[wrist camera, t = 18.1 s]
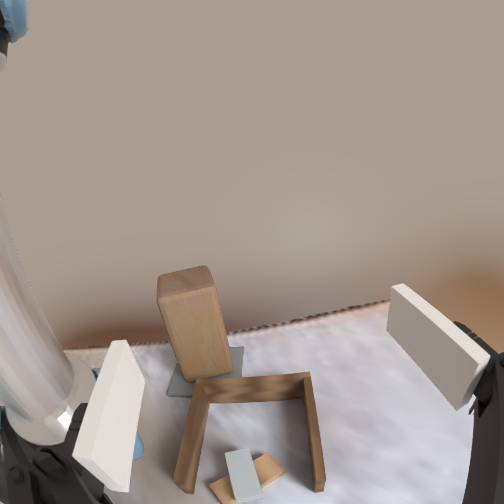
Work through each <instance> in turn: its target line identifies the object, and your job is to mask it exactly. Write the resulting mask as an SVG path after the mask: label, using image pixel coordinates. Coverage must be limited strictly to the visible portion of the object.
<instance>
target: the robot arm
mask: <svg viewBox="0 0 504 504" xmlns="http://www.w3.org/2000/svg"><path fill="white" fill-rule="evenodd" d="M27 24H28V0H0V74H1V73H2V72H3V70H4V69H5V67H6V63H7V48H8V43H9V42H11V43H13V42H16V41H17V40H18V39H19V38H21V37H23V36H24V35H25V34H26V32H27V30H28V26H27ZM387 331H388V333H389V334H390V335H391V336H392V337H393V338H394V339H395V340H396V341H397V342H398V344H399V345H400V346H401V347H402V348H403V349H404V350H405V351H406V353H407V354H408V355H409V356H410V357H411V358H412V359H413V360H414V362H415V363H416V364H417V365H418V366H419V367H420V368H421V370H422V371H423V372H424V373H425V374H426V375H427V377H428V378H429V379H430V380H431V381H432V382H433V384H434V385H435V386H436V387H437V388H438V389H439V391H440V392H441V393H442V394H443V395H444V397H445V398H446V399H447V400H448V401H449V403H450V404H451V405H452V406H453V407H454V409H455V410H456V411H457V410H458V409H460V408H461V407H463V406H464V405H466V404H467V403H468V402H469V400H470V399H471V397H472V395H473V394H474V395H475V396H476V397H477V398H476V399H475V401H474V403H473V405H472V407H471V408H470V410H469V414H471V413H472V411H473V409H474V414H473V415H474V428H473V441H472V451H471V459H470V466H469V473H468V479H467V484H466V489H465V494H464V499H463V503H462V504H504V352H503V353H500V354H498V353H497V352H496V351H494V350H493V349H492V348H491V347H490V346H489V345H487V344H486V343H485V342H484V341H483V340H482V339H481V338H479V337H477V335H476V334H475V333H472V331H471V330H470V329H469V328H467V327H466V326H465V325H463V324H461V323H458V322H456V321H455V322H453V323H452V322H451V321H450V320H449V319H447V318H446V317H445V316H444V315H443V314H441V313H440V312H439V311H438V310H436V309H435V308H434V307H433V306H431V305H430V304H429V303H428V302H426V301H425V300H424V299H423V298H421V297H420V296H419V295H418V294H416V293H415V292H414V291H412V290H411V289H410V288H409V287H407V286H406V285H405V284H403V283H402V284H399V285H395V286H392V287H391V297H390V306H389V314H388V322H387ZM144 386H145V379H144V377H143V375H142V373H141V371H140V369H139V367H138V365H137V363H136V360H135V358H134V356H133V354H132V352H131V350H130V347H129V345H128V343H127V341H126V340H118V341H112V343H111V345H110V348H109V350H108V352H107V355H106V357H105V360H104V363H103V365H102V368H94V369H91V368H90V367H89V366H88V365H87V363H86V362H85V361H84V360H82V359H81V358H79V357H78V356H75V355H73V354H70V353H66V352H64V351H63V349H62V348H61V346H60V344H59V342H58V341H57V339H56V337H55V335H54V333H53V331H52V330H51V328H50V326H49V324H48V322H47V320H46V318H45V316H44V314H43V312H42V310H41V308H40V306H39V304H38V302H37V300H36V297H35V295H34V293H33V291H32V288H31V286H30V284H29V282H28V279H27V277H26V274H25V272H24V269H23V267H22V264H21V261H20V259H19V256H18V253H17V250H16V248H15V245H14V241H13V239H12V236H11V232H10V229H9V226H8V222H7V219H6V215H5V212H4V208H3V204H2V200H1V195H0V398H1V399H2V400H3V401H4V403H5V406H3V407H2V406H0V501H1V502H3V503H4V504H113V503H112V502H111V500H110V499H109V498H108V496H107V495H106V494H105V493H104V492H103V489H104V485H105V486H106V487H107V488H109V489H110V490H111V491H118V492H129V485H130V476H131V467H132V462H133V461H135V460H137V459H139V458H140V457H141V456H142V455H143V453H144V445H143V442H142V440H141V438H140V436H139V434H138V432H137V425H138V419H139V413H140V407H141V402H142V396H143V391H144Z"/></svg>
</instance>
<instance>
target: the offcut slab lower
mask: <svg viewBox="0 0 504 504" xmlns="http://www.w3.org/2000/svg"><path fill="white" fill-rule="evenodd" d="M253 463H254V467H255V470H256V473H257V476H258V480H259V483H260V486H261V488H262V487H264V486H265V485H267V484H269V483H270V482H272V481H273V480H275V479H276V478H278V477H280V476H281V475H283V474H284V473H285V472H284V469H283V468H282V467H281V466H280V465H279V464H278V463H277V462H276V461H275V460H274V459H273V458H272V457H271V456H270V455H269V454H268V453H265V454H264V455H262V456H260V457H259V458H257V459H255V460H254V461H253ZM209 487H210V488H211V489H212V491H213V492H214V493H215V495H216V496H217V497H218V499H219V500H220V501H221V503H222V504H234V503H236V502H237V501H236V499H235V496H234V492H233V488H232V484H231V479H230V475H227V476H225V477H223V478H221V479H219V480H217V481H215V482H213V483H211V484H209Z"/></svg>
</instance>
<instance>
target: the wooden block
mask: <svg viewBox="0 0 504 504" xmlns="http://www.w3.org/2000/svg"><path fill="white" fill-rule="evenodd" d="M157 303H158V306H159V310H160V313H161V316H162V319H163V322H164V325H165V327H166V330H167V333H168V336H169V339H170V342H171V345H172V347H173V350H174V353H175V355H176V358H177V361H178V363H179V366H180V369H181V371H182V374H183V376H184V379H185V380H186V381H187V382H188V383H192V382H196V380H197V379H209V378H214V377H218V376H222V375H226V374H229V373H232V372H233V370H234V365H233V361H232V356H231V352H230V348H229V344H228V339H227V335H226V331H225V327H224V321H223V318H222V312H221V308H220V303H219V298H218V294H217V289H216V286H215V283H214V281H213V278H212V275H211V273H210V270H209V268H208V267H207V266H198V267H194V268H190V269H185V270H181V271H176V272H172V273H168V274H163V275H160V276H159V277H158V283H157Z"/></svg>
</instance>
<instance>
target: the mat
mask: <svg viewBox="0 0 504 504" xmlns="http://www.w3.org/2000/svg"><path fill="white" fill-rule="evenodd" d="M229 348H230V352H231V356H232V361H233V365H234V370H233V372H232V373H229V374H226V375H222V376H218V377H214V378H209V379H220V378H241V376H242V364H243V353H244V347H229ZM195 384H196V382H192V383H188V382H187V381H186V380H185V379H184V376H183V374H182V371H181V369H180V366H179V363H177V366H176V369H175V372H174V375H173V377H172V380H171V383H170V386H169V389H168V392H167V396H174V397H192V396H193V392H194V388H195Z"/></svg>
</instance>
